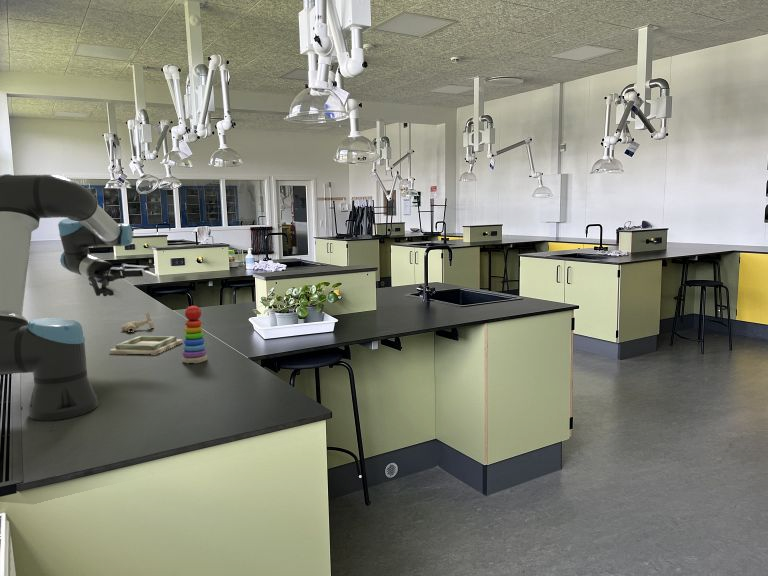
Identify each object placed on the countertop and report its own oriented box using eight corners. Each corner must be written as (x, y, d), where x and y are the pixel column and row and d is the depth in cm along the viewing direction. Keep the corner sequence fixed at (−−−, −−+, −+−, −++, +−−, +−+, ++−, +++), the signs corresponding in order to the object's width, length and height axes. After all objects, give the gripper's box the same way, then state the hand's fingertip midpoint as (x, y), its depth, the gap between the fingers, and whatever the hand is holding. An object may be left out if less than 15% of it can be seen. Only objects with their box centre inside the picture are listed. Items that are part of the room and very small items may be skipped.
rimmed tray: (155, 355, 195) (155, 346, 195) (109, 354, 198) (108, 345, 198) (182, 343, 213) (182, 335, 213) (139, 342, 216) (139, 334, 216)
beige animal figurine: (154, 325, 246) (155, 332, 237) (124, 334, 241) (124, 341, 232) (149, 309, 243) (149, 315, 234) (119, 318, 239) (118, 324, 230)
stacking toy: (199, 364, 182) (196, 308, 179) (177, 363, 184) (173, 307, 181) (211, 358, 190) (208, 304, 187) (190, 357, 191) (186, 304, 189)
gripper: (130, 266, 200) (172, 282, 191) (65, 294, 181) (107, 313, 172) (127, 247, 197) (169, 262, 188) (59, 273, 177) (103, 291, 168)
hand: (139, 286), depth 180 cm, fingers open, 13 cm apart
